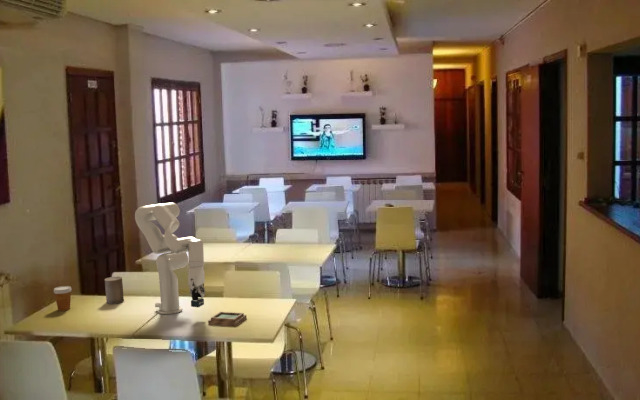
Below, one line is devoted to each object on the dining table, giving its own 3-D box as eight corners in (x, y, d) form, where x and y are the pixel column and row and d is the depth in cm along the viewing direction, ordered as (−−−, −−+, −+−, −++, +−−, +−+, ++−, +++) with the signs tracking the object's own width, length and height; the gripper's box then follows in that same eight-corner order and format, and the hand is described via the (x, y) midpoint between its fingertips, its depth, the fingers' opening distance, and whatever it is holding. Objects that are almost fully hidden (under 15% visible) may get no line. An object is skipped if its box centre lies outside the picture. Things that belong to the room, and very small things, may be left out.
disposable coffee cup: (51, 311, 404) (49, 289, 403) (63, 306, 413) (61, 285, 411) (65, 312, 400) (63, 290, 399) (76, 307, 409) (75, 286, 408)
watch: (201, 307, 373) (201, 286, 371) (188, 306, 376) (187, 285, 374) (207, 304, 378) (206, 283, 376) (193, 303, 381) (193, 282, 379)
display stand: (208, 324, 367) (208, 318, 367) (219, 317, 380) (219, 311, 379) (236, 326, 363) (235, 319, 362) (246, 318, 375) (246, 312, 375)
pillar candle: (127, 299, 422) (125, 274, 420) (118, 304, 413) (116, 278, 411) (111, 299, 424) (109, 274, 423) (103, 304, 415) (100, 278, 413)
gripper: (197, 259, 383) (198, 293, 385) (181, 266, 367) (183, 302, 369) (210, 260, 380) (211, 294, 383) (195, 267, 364) (196, 303, 367)
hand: (197, 298), depth 376 cm, fingers closed on watch, 4 cm apart
